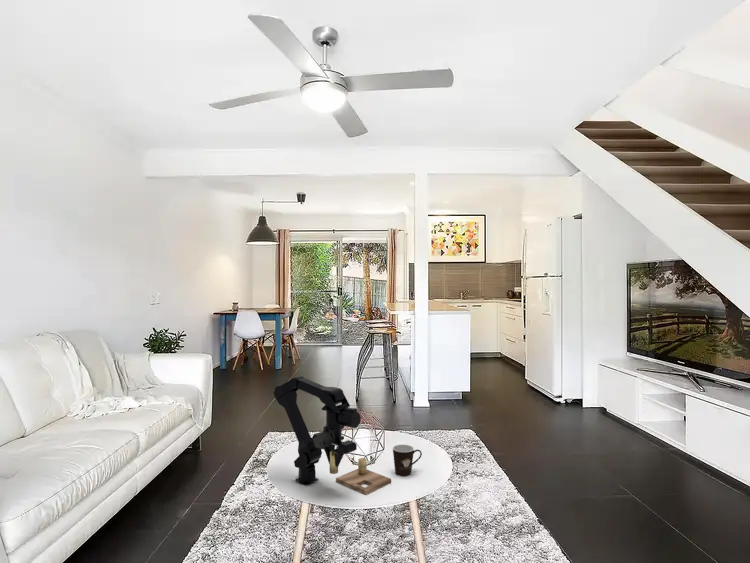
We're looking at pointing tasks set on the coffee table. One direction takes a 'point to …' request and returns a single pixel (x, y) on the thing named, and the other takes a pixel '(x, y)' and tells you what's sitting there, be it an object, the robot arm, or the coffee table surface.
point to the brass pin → (333, 463)
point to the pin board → (363, 479)
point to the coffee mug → (404, 459)
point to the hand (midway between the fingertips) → (333, 465)
